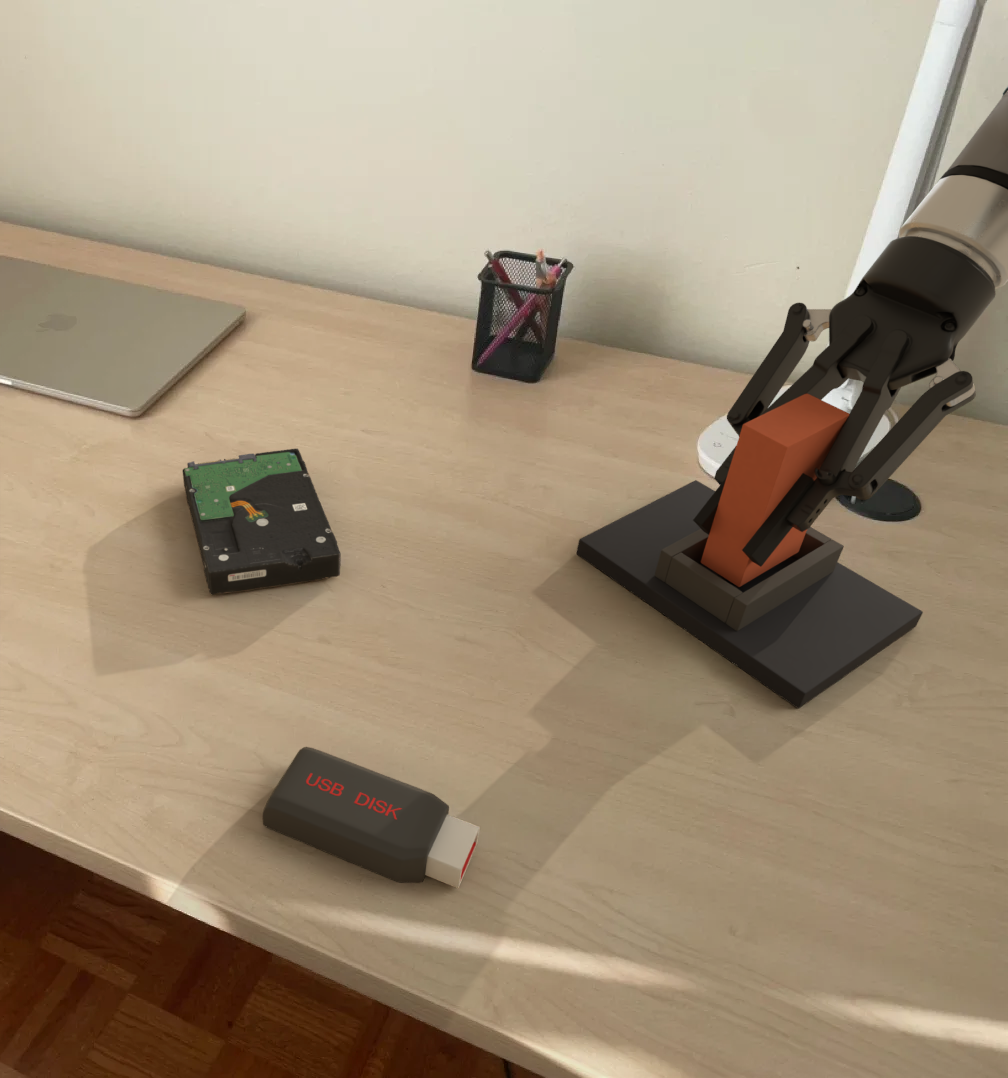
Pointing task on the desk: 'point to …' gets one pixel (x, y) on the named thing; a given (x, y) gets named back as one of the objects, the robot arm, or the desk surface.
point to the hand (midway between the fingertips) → (727, 542)
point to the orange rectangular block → (768, 481)
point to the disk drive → (259, 522)
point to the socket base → (753, 597)
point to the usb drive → (370, 820)
